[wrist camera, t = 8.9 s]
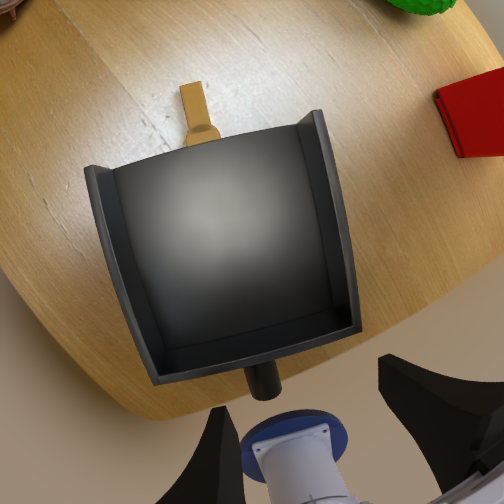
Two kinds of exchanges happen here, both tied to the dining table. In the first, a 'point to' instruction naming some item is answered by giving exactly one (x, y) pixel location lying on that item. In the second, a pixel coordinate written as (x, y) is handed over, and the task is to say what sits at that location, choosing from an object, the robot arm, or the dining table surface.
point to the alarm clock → (9, 7)
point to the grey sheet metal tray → (230, 253)
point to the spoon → (197, 115)
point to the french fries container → (475, 114)
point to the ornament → (423, 6)
